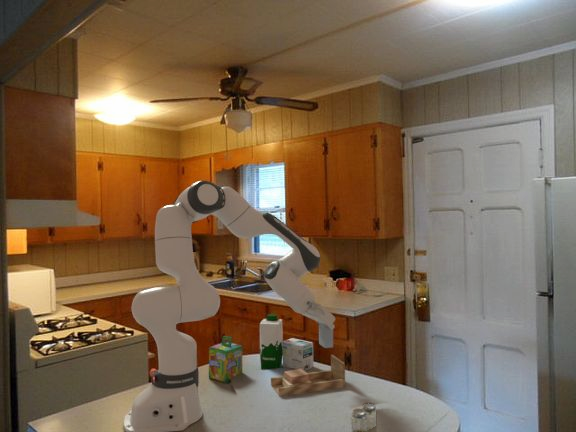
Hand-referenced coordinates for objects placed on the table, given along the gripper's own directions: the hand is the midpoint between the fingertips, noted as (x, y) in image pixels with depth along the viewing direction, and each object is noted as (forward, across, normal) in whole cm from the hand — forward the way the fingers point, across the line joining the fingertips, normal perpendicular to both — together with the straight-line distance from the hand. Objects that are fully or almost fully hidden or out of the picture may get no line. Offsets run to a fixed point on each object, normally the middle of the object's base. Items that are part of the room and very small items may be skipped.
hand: (327, 325), depth 151 cm
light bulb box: (+14, +20, +16) cm, 30 cm away
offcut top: (+4, +2, +20) cm, 21 cm away
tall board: (+4, 0, +5) cm, 7 cm away
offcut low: (+6, +2, +22) cm, 23 cm away
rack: (+10, +1, +20) cm, 23 cm away
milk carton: (+8, +28, +22) cm, 36 cm away
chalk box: (-5, +25, +36) cm, 44 cm away
